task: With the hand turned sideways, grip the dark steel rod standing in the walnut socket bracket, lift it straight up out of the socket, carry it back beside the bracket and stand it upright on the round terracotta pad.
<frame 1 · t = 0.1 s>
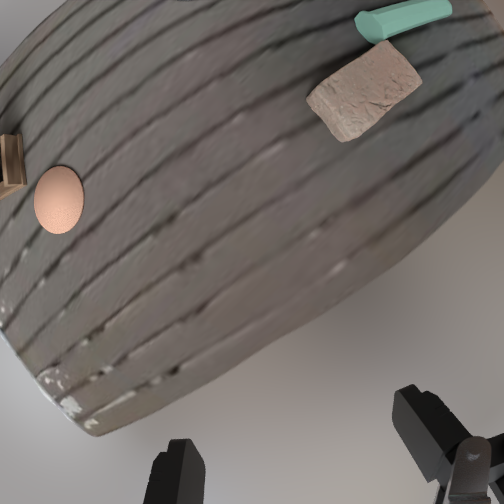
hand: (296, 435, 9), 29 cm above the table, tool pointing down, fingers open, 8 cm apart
rod: (4, 168, 32), point 1 cm above the table, touching socket bracket
socket bracket: (7, 169, 32), on the table
pad: (58, 199, 34), on the table
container: (406, 20, 31), on the table
brick: (361, 93, 34), on the table
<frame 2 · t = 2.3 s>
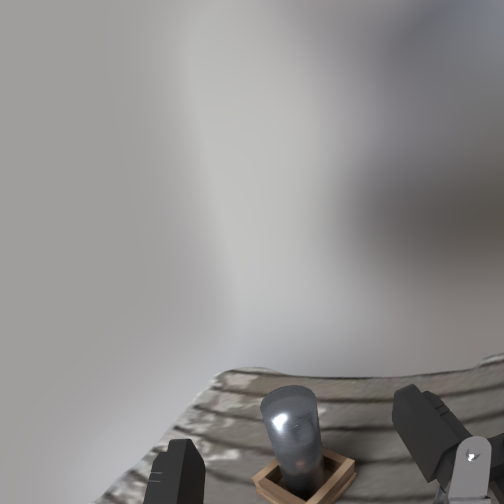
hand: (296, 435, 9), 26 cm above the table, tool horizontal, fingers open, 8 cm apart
rod: (306, 483, 25), point 1 cm above the table, touching socket bracket
socket bracket: (306, 487, 25), on the table
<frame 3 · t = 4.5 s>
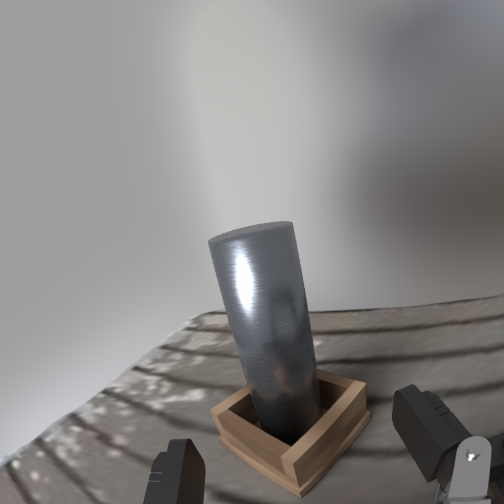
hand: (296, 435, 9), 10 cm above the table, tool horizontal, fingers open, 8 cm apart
rod: (293, 429, 19), point 1 cm above the table, touching socket bracket
socket bracket: (295, 436, 20), on the table
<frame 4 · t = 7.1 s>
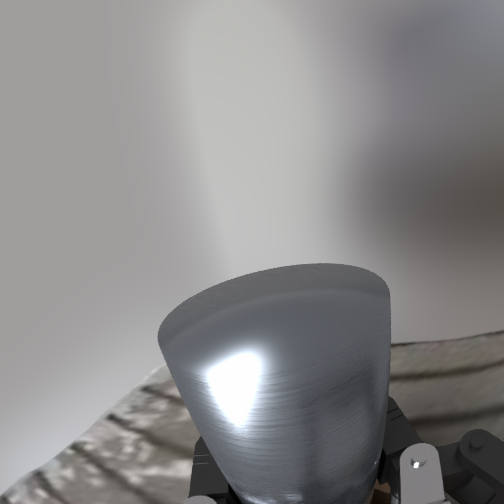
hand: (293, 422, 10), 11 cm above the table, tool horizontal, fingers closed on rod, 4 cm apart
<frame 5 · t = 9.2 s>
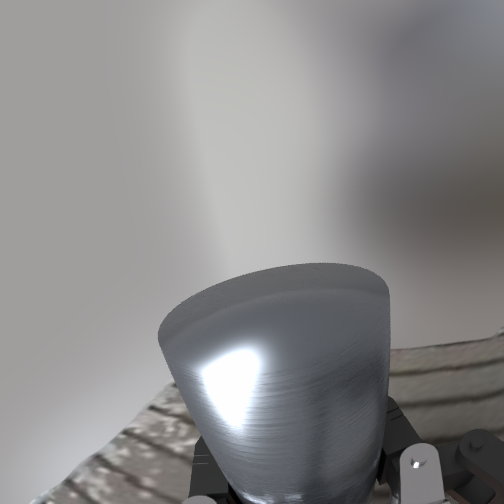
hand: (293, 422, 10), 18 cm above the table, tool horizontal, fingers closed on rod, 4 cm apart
when the fingers open (11 cm above the table, at t = 11.8 s): rod stays where it is, resting on pad.
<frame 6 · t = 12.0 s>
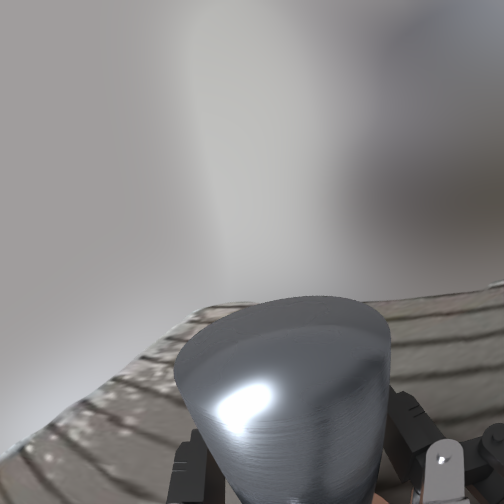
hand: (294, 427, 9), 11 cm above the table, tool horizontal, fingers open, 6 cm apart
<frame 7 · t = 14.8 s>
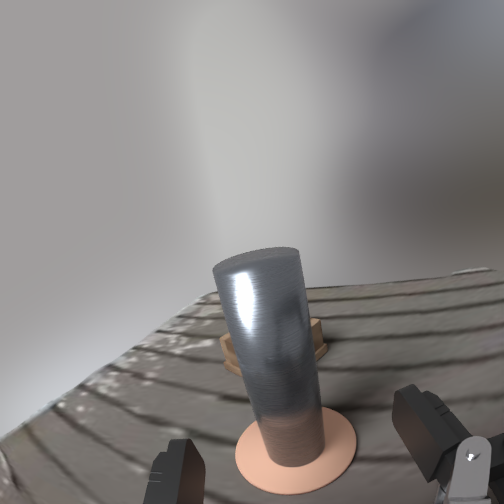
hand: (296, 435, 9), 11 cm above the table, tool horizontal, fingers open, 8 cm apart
rod: (296, 445, 19), resting on pad
socket bracket: (276, 361, 33), on the table
pad: (295, 447, 19), on the table
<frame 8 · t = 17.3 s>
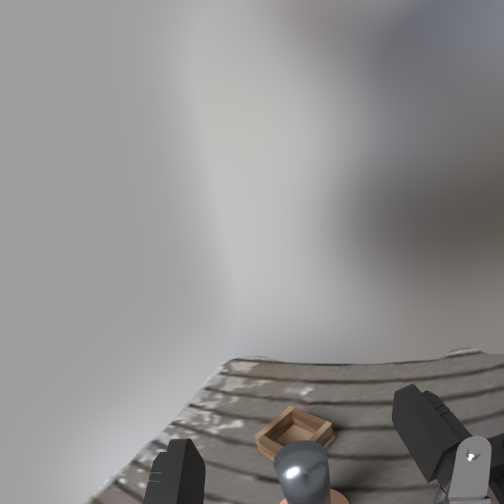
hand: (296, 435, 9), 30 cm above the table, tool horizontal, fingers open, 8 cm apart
socket bracket: (296, 446, 37), on the table
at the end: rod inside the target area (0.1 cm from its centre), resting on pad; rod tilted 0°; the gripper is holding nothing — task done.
